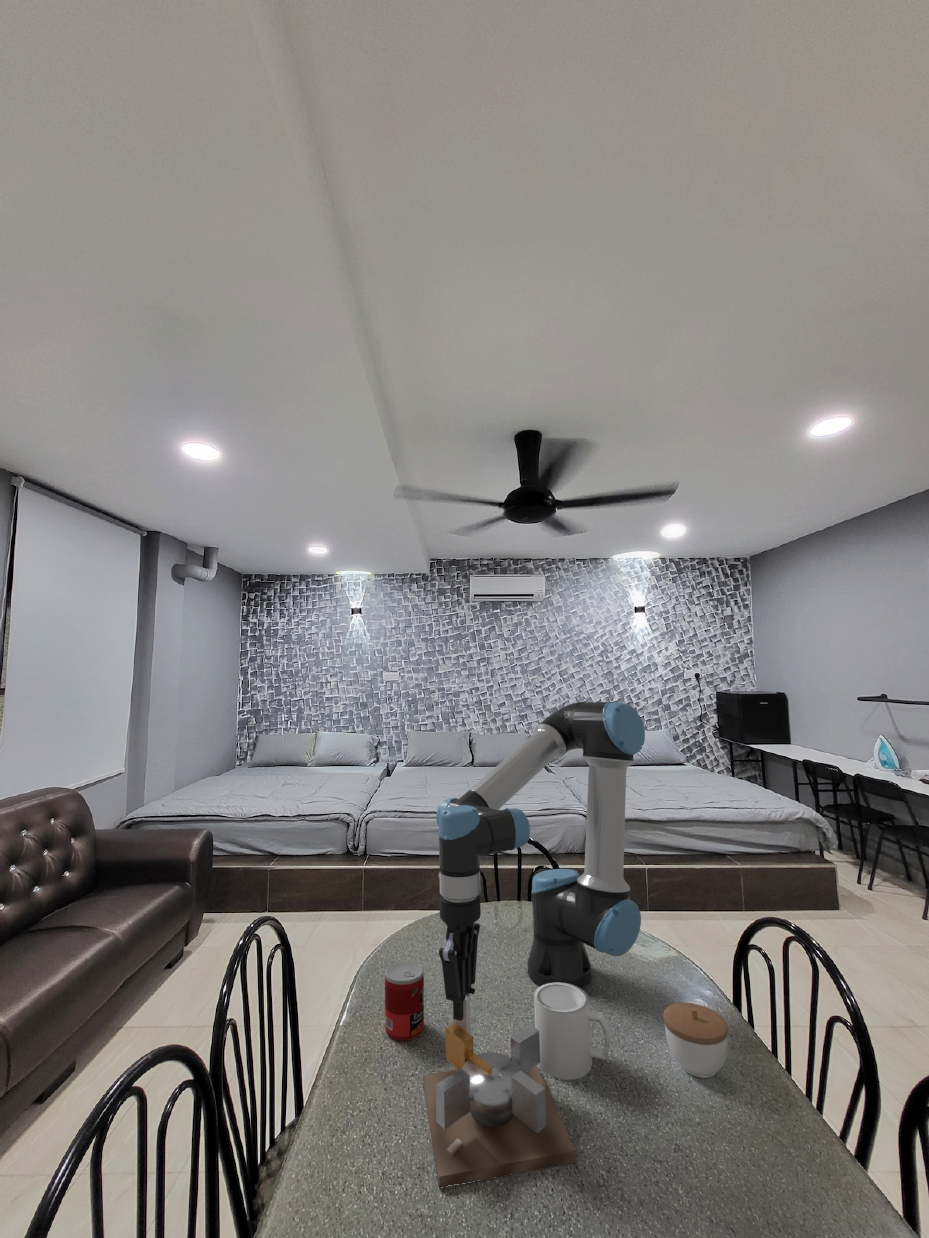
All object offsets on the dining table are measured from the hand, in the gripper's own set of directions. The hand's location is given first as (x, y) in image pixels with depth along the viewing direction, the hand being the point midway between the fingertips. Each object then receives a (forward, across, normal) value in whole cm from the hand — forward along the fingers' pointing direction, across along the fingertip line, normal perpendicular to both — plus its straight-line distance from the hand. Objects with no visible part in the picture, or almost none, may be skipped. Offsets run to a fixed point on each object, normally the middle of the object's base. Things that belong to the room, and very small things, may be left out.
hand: (461, 1035), depth 95 cm
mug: (+7, -12, +16) cm, 21 cm away
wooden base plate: (+7, +6, +8) cm, 13 cm away
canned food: (+7, -8, -16) cm, 20 cm away
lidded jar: (+7, -19, +38) cm, 43 cm away
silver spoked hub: (+3, +6, +8) cm, 11 cm away
